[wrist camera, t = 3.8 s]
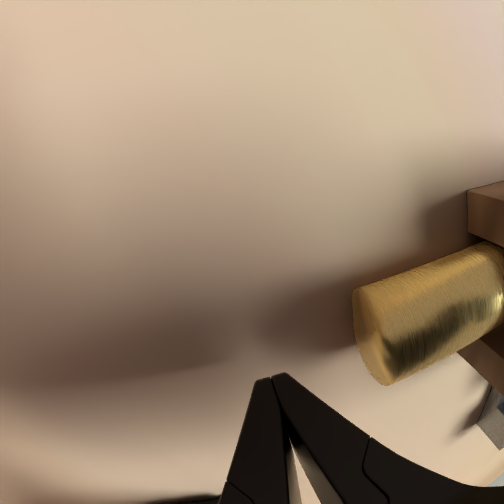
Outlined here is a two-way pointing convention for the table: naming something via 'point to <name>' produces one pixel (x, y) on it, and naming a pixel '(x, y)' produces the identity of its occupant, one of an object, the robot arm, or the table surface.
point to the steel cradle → (493, 418)
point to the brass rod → (429, 311)
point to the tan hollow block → (500, 232)
